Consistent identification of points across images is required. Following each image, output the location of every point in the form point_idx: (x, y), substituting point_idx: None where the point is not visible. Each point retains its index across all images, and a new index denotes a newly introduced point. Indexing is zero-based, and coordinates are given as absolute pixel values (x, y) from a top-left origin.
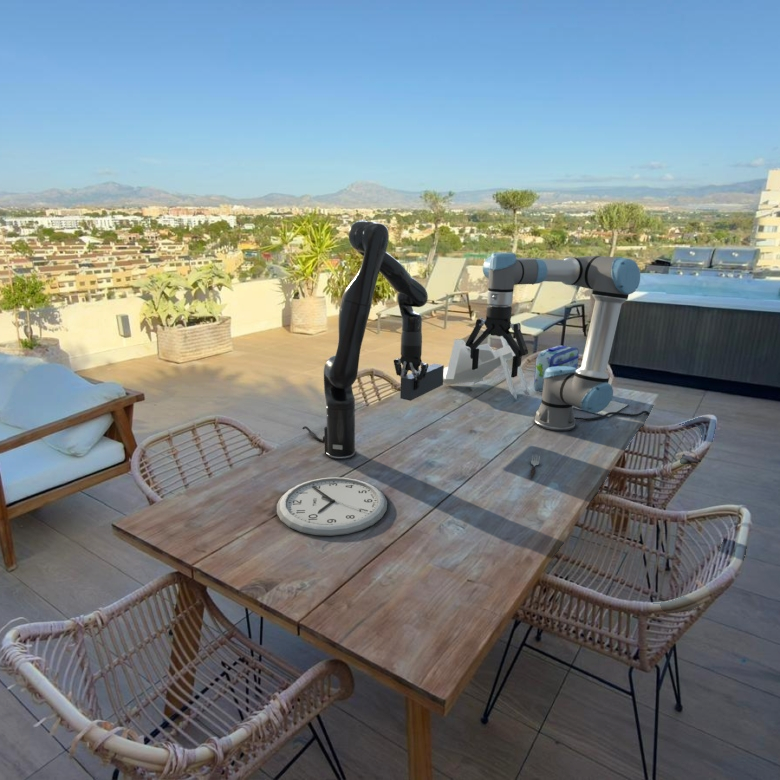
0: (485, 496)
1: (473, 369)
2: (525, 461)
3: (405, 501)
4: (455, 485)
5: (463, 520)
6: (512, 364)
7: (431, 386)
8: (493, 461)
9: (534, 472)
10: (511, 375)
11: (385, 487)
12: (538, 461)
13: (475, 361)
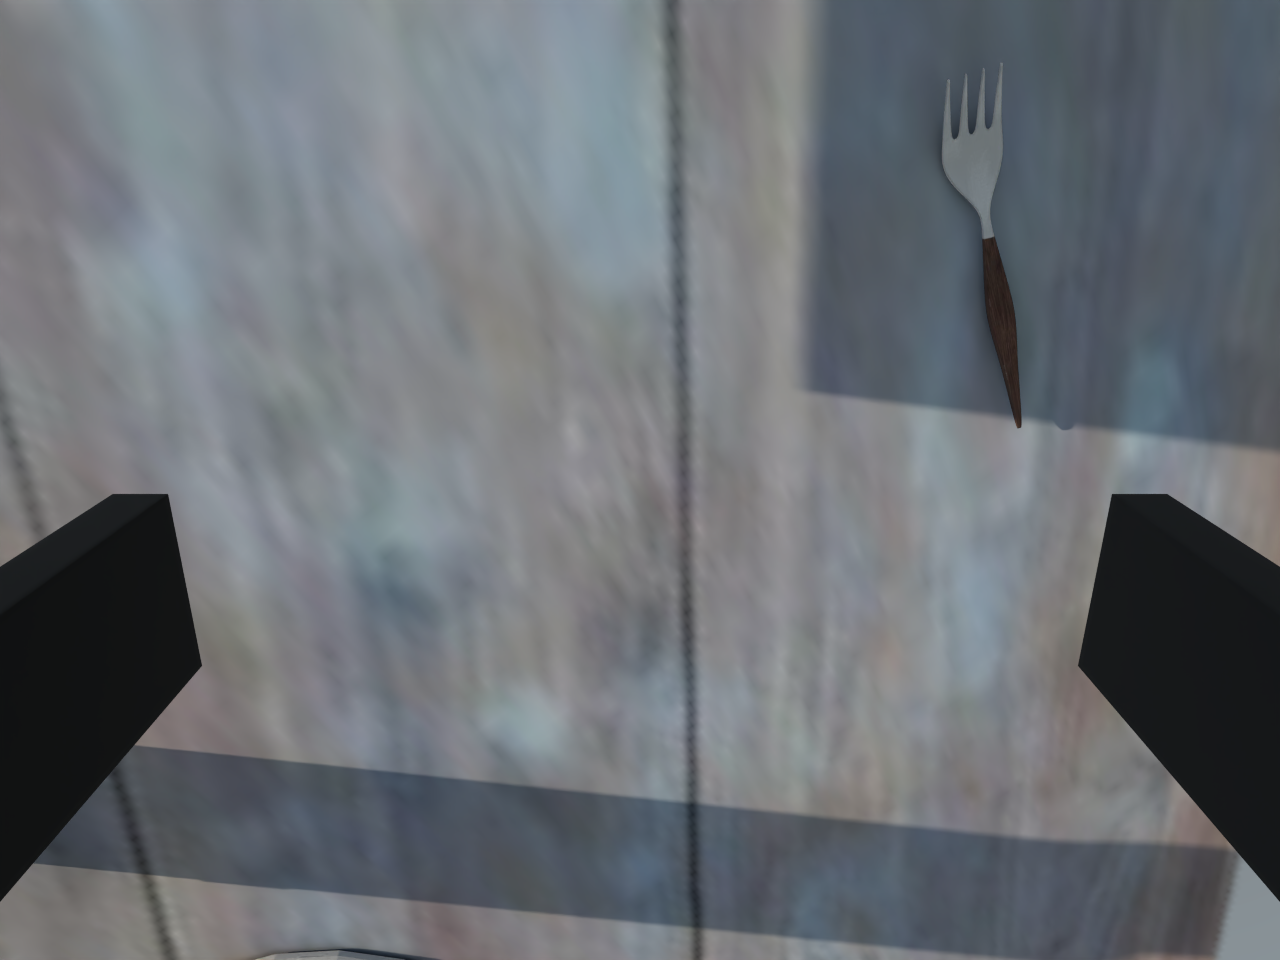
0: (848, 728)
1: (188, 673)
2: (894, 154)
3: (561, 955)
4: (665, 721)
5: (850, 938)
6: (1259, 871)
7: None
8: (700, 309)
9: (1013, 323)
10: (1098, 686)
11: (405, 917)
12: (996, 128)
13: (86, 740)
